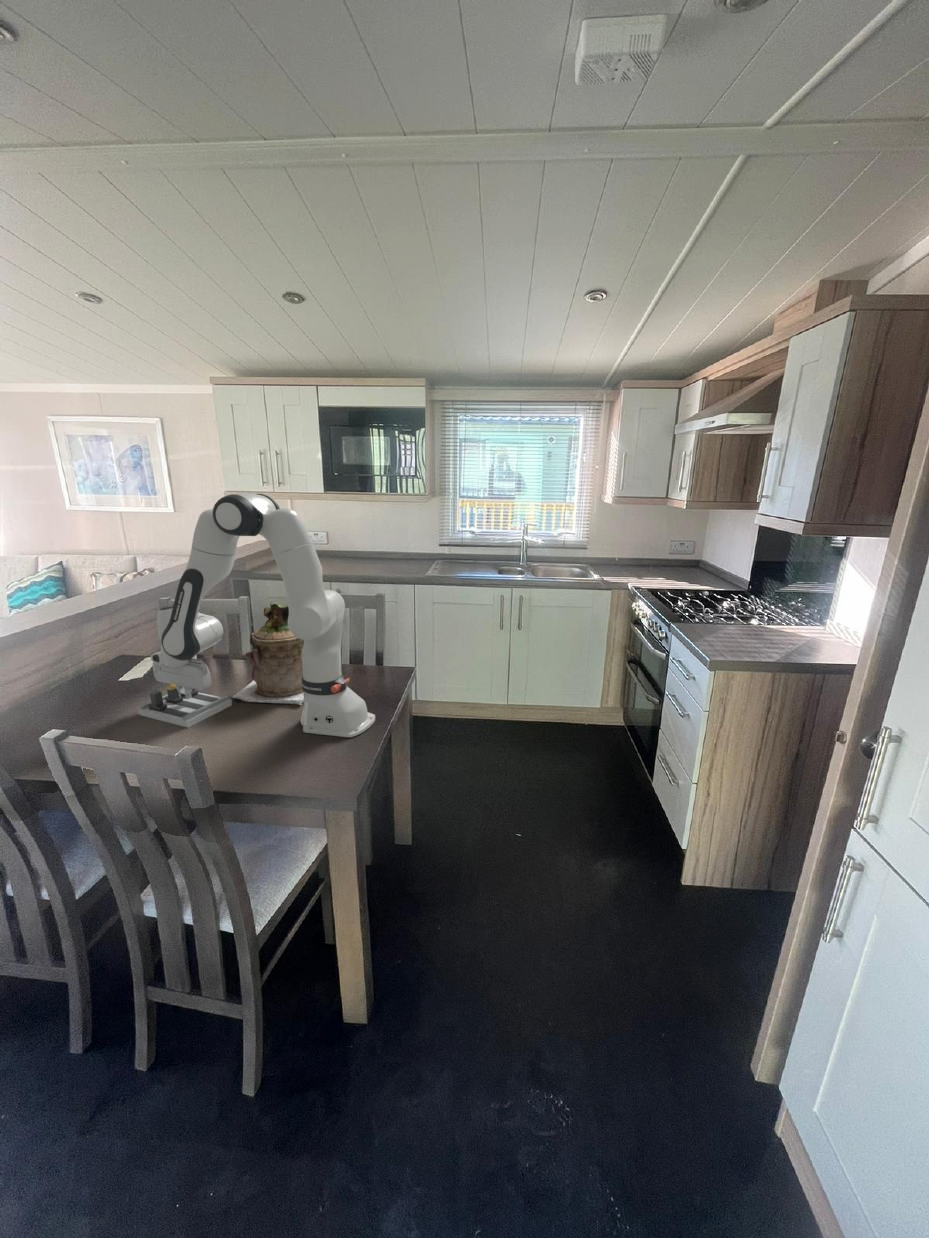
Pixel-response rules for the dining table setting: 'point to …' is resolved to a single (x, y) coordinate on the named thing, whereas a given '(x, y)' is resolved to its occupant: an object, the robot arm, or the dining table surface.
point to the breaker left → (157, 701)
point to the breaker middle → (173, 694)
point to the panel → (187, 709)
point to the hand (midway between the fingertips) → (186, 697)
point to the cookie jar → (275, 661)
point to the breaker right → (194, 692)
